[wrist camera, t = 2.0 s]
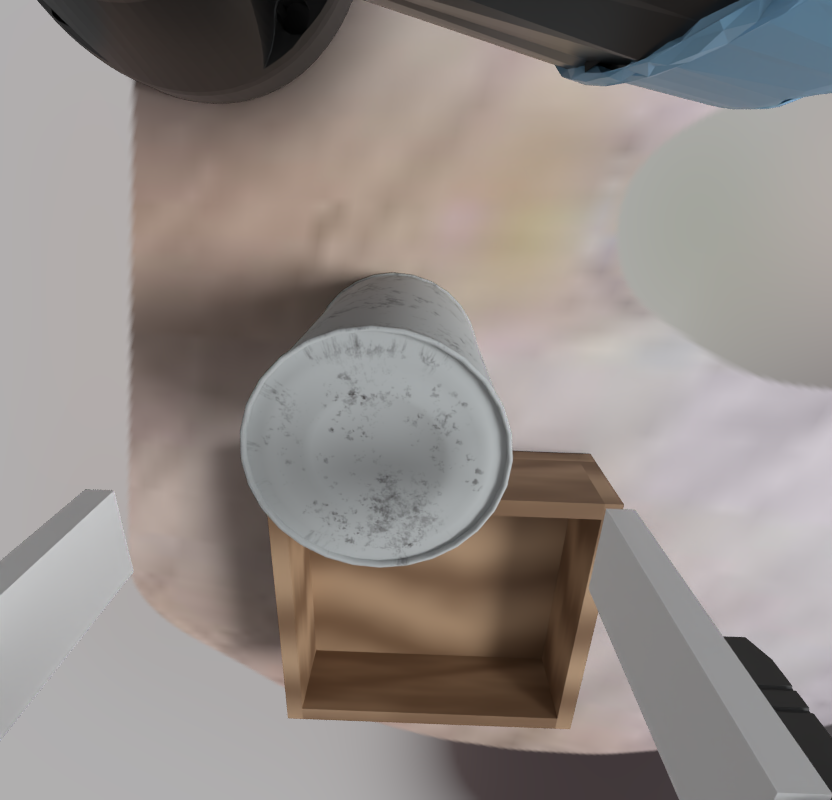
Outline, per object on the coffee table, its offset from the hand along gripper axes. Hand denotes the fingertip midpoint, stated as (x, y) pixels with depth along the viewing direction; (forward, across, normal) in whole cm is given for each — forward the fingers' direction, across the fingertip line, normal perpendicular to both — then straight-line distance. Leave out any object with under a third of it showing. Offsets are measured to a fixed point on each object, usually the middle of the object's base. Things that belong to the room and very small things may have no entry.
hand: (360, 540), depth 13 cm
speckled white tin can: (+16, 0, 0) cm, 17 cm away
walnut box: (+16, +3, -15) cm, 22 cm away
